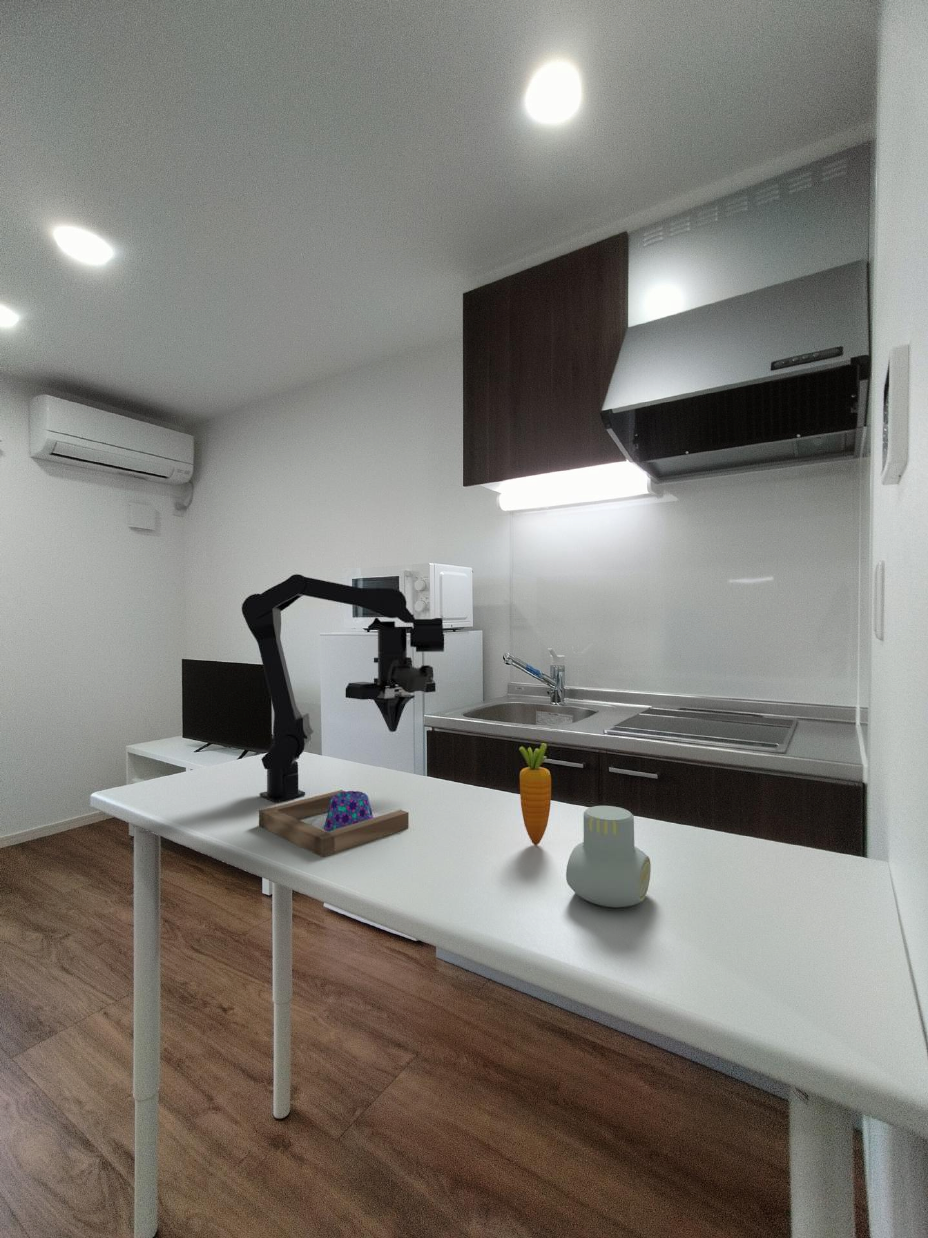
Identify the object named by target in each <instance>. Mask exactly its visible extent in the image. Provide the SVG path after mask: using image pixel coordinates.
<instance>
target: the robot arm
mask: <svg viewBox="0 0 928 1238" xmlns="http://www.w3.org/2000/svg"><path fill="white" fill-rule="evenodd" d="M303 596H305V597H310V598H314V599H320V600H324V601H331V602H335V603H340V604H346V605H348V606H349V605H350V606H355V607H359V608H362V609H365V610H367V611H369V612H372V613H375V614H378V615H380V616H383V617H385V618H387V619H398V620H400V621H401V622H403V623H405V624H412V626H396V621H393V620H389V621H385V620H383V621H381V620H380V619H379V618H378V617H374V619H373V621H372V622H371V623H370V624H369V625H368V626H367V629H368V630H377V657H373V663H374V664H377V677H375V678H373V682H371V681H370V682H369V681H357V682H348V684H347V686H346V687H345V698H347V699H352V700H353V699H354V700H359V701H361V700H371V701H372V700H373V701H374V703H375V705H376V707H377V708H378V710H379V712H380V713H381V714H380V715H382V719H383V720H384V722H385V724H386V727H387V729H388V731H389V732H391V733H393V732H396V731H397V729H398V726H399V723H400V720H401V717H402V714H403V711H404V709H405V707H406V705H407V704H408V703H409V702H410V701H411V700H412V699H415V697H416V695H412V694H413V693H415V692H422V693H423V692H424V694H425V693H434V692H436V690H437V689H436V687H437V686H436V681H435V680H434V667H433V666H431V665H421V666H420V667H415V666H413V661H412V657H409V656H408V657H407V655H408V646H407V645H408V642H407V641H408V638H407V637H408V635H407V634H408V633H407V632H408V631H407V630H409V636H410V638H409V642H410V643H409V645H410V646H409V647H410V648H415V653H443V652H445V651H444V650H445V634H444V627H443V626H444V625H443V618H442V617H435V618H415V617H414V616H415V615H414V614H413V613H411V611H410V610H409V609H408V608H407V599H406V596H405V595H404V593H403V592H402V591H400V589H399V590H398V589H396V588H390V587H389V588H388V587H373V588H372V587H369V588H368V587H357V586H352V585H348V584H342V583H338V582H332V581H328V580H323V579H317V578H312V577H307V576H304V575H303V574H299V573H297V574H296V573H295V574H292V575H291V576H289V577H288V578H287V579H285V580H284V581H282V582H280V583H278V584H275V585H274V586H271V587H270V588H268V589H266V590H265V591H263V592H262V593H253V594H250V595H248V596H247V597H246V598H245V600H244V601H243V603H242V604H241V613H242V615H243V618H244V620H245V623H246V625H247V627H248V629H249V631H250V633H251V634H252V635H253V637H254V639H255V641H256V642H257V645H258V649H259V653H260V658H261V663H262V666H263V670H264V675H265V679H266V684H267V688H268V691H269V696H270V701H271V705H272V709H273V715H274V717H273V727H272V728H273V729H272V733H273V747H272V748H270V750H269V751H268V752H267V753H265V755H264V756H263V757H261V762H262V763H261V764H262V765H263V768H264V770H266V791H262V792H259V796H260V797H261V798H264V799H267V800H269V801H271V802H273V803H274V802H275V803H276V802H283V801H286V800H289V799H293V798H297V797H298V798H299V797H303V796H306V792H305V791H303V790H301V789H299V763H298V761H297V760H299V759H300V756H301V755H302V754H303V753H304V751H305V750H306V749H307V748H308V747H309V745H310V743H311V740H312V734H313V733H314V731H313V728H312V727H311V724H310V714H309V713H305V714H302V713H301V711H300V710H299V709H298V707H297V703H296V700H295V695H294V692H293V691H294V690H293V687H292V683H291V678H290V674H289V669H288V665H287V660H286V658H285V653H284V648H283V644H282V639H281V634H282V633H281V631H282V611H284V610H285V609H287V608H288V607H290V606H291V605H292V604H294V603H295V602H296V601H297V600H299V599H300V598H301V597H303Z"/></svg>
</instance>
